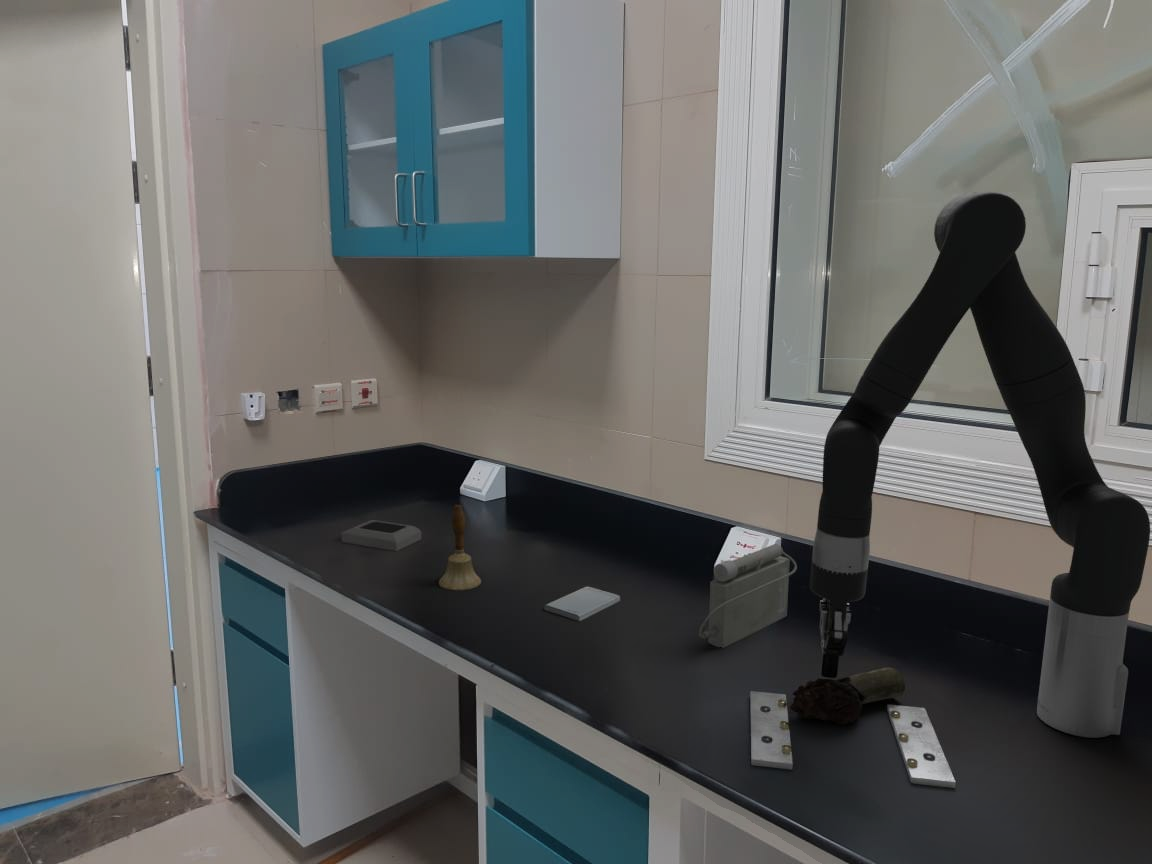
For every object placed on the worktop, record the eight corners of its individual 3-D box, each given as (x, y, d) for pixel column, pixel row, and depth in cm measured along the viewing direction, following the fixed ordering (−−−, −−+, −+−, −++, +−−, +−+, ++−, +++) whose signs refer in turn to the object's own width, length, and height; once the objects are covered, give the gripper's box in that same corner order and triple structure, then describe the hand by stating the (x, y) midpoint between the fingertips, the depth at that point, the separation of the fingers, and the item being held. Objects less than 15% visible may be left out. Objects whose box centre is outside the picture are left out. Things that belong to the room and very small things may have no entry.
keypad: (367, 517, 201) (421, 525, 195) (368, 532, 202) (421, 540, 196) (341, 527, 192) (396, 536, 186) (341, 543, 193) (396, 552, 187)
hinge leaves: (924, 713, 120) (925, 705, 119) (955, 788, 102) (955, 779, 102) (750, 696, 124) (750, 688, 124) (751, 765, 107) (751, 756, 106)
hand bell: (480, 590, 165) (479, 510, 162) (437, 591, 164) (435, 511, 161) (481, 575, 173) (480, 499, 170) (440, 576, 172) (438, 499, 169)
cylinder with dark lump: (878, 688, 127) (881, 653, 126) (914, 709, 121) (918, 673, 120) (784, 713, 119) (787, 676, 118) (817, 737, 113) (820, 698, 112)
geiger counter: (771, 536, 154) (685, 569, 137) (803, 544, 149) (717, 579, 132) (768, 609, 156) (683, 650, 139) (799, 619, 152) (714, 663, 135)
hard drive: (579, 615, 150) (620, 594, 160) (544, 604, 155) (585, 584, 165) (579, 624, 150) (620, 603, 160) (544, 612, 155) (585, 592, 165)
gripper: (874, 581, 112) (861, 701, 115) (862, 548, 125) (850, 657, 128) (815, 575, 113) (804, 694, 117) (809, 543, 126) (799, 651, 130)
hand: (828, 675), depth 123 cm, fingers closed
